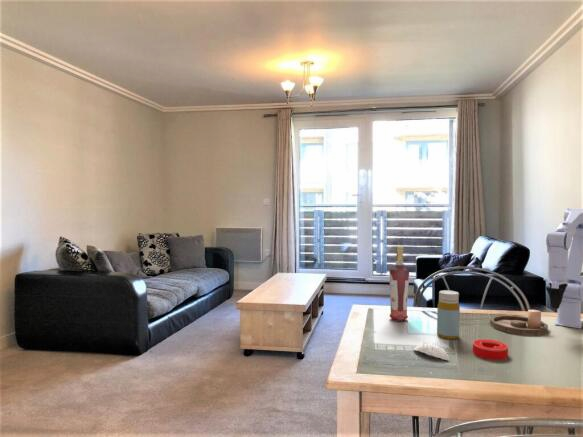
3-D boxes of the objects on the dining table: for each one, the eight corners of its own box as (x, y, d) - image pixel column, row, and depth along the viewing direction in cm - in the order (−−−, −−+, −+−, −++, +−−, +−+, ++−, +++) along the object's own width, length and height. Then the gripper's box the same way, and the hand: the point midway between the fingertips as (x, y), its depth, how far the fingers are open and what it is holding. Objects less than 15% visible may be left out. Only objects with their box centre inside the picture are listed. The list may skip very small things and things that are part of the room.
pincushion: (407, 352, 134) (408, 334, 134) (419, 348, 138) (420, 330, 138) (443, 364, 125) (443, 344, 125) (454, 359, 129) (455, 340, 129)
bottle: (436, 338, 147) (437, 293, 146) (437, 332, 154) (438, 289, 153) (458, 340, 144) (459, 295, 144) (459, 334, 151) (460, 291, 150)
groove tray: (496, 317, 172) (496, 312, 172) (549, 325, 162) (549, 320, 162) (485, 328, 157) (486, 323, 157) (543, 338, 147) (544, 333, 147)
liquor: (410, 322, 165) (412, 247, 163) (390, 322, 165) (392, 247, 163) (405, 317, 172) (407, 245, 171) (386, 317, 172) (388, 245, 171)
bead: (529, 325, 159) (529, 309, 159) (541, 327, 157) (542, 311, 157) (526, 328, 156) (527, 311, 156) (539, 330, 154) (539, 313, 154)
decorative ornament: (478, 346, 140) (478, 337, 140) (511, 353, 134) (511, 343, 133) (468, 355, 132) (468, 344, 132) (502, 363, 126) (503, 352, 126)
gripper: (546, 262, 160) (545, 300, 161) (541, 268, 148) (540, 308, 149) (569, 264, 156) (568, 302, 157) (566, 270, 144) (565, 311, 145)
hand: (556, 305), depth 153 cm, fingers open, 7 cm apart
